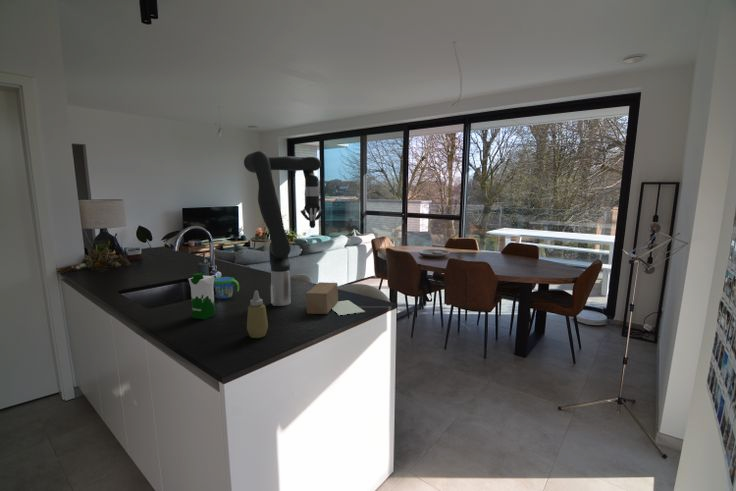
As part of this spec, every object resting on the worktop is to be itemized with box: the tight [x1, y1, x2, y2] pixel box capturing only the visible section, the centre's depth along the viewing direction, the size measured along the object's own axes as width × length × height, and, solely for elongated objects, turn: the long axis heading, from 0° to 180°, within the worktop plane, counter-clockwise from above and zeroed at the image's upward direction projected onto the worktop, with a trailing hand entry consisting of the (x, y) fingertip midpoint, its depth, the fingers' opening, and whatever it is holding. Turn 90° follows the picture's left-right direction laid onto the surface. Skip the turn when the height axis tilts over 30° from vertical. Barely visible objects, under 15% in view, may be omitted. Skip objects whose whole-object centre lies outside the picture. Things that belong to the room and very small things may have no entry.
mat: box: [331, 300, 366, 317], centre depth 179 cm, size 13×20×1 cm, turn 26°
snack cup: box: [213, 276, 240, 300], centre depth 195 cm, size 16×10×10 cm
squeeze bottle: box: [246, 290, 269, 339], centre depth 142 cm, size 8×8×18 cm
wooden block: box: [305, 281, 339, 315], centre depth 178 cm, size 10×10×20 cm
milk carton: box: [187, 272, 217, 320], centre depth 164 cm, size 9×9×20 cm
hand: (312, 227), depth 198 cm, fingers closed
